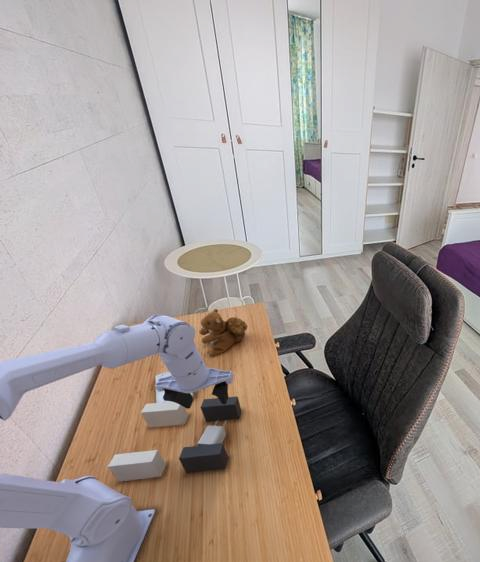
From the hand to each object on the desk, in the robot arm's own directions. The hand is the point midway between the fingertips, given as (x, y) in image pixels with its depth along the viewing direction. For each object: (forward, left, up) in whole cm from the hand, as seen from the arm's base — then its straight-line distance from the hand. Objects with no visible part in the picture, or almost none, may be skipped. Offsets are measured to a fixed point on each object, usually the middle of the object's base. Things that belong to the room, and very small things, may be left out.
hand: (208, 402), depth 65 cm
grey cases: (-2, 0, -11) cm, 11 cm away
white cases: (-2, +13, -11) cm, 17 cm away
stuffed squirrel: (+32, +7, -11) cm, 35 cm away
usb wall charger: (-2, 0, -11) cm, 11 cm away
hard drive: (+14, +16, -11) cm, 24 cm away
